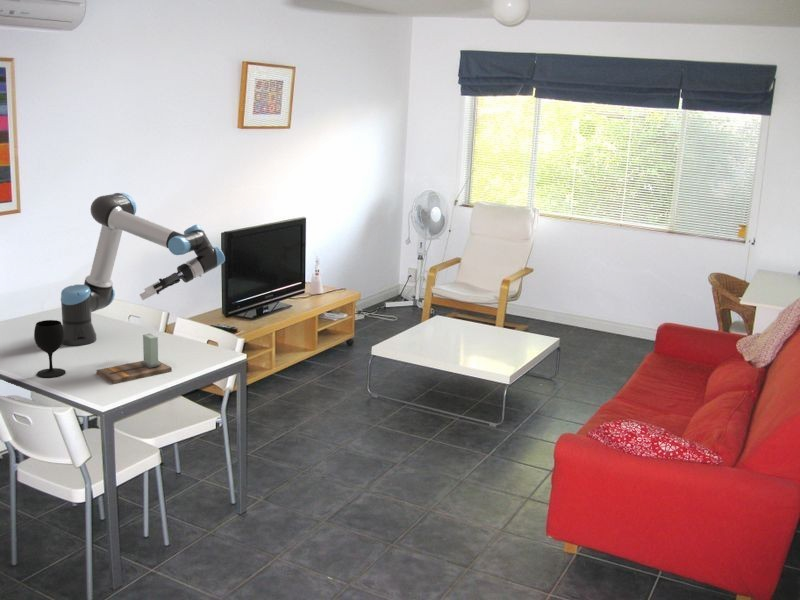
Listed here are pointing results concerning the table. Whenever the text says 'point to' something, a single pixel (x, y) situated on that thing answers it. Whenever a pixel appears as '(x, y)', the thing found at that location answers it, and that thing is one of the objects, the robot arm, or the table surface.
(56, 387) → the table surface
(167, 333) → the table surface
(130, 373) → the brown wooden board
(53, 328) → the wine glass
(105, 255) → the robot arm
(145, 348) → the block
